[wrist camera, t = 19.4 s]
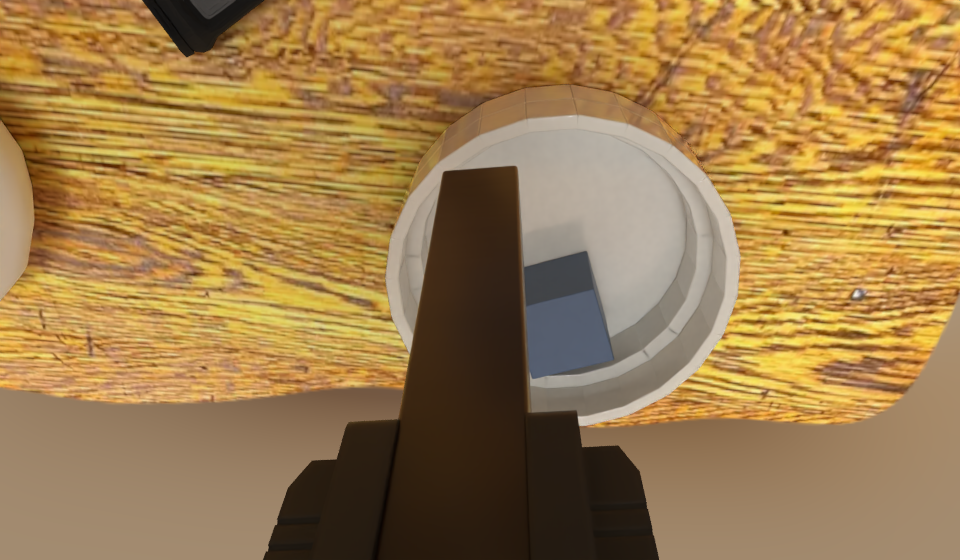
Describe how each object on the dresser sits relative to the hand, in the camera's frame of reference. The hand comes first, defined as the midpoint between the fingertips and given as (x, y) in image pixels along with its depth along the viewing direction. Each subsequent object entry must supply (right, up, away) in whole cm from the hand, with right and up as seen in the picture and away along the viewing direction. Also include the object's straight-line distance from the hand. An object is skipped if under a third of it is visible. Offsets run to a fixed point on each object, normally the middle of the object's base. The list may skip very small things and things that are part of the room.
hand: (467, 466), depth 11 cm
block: (+4, +2, +28) cm, 29 cm away
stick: (0, +5, +8) cm, 9 cm away
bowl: (+4, +5, +27) cm, 28 cm away
